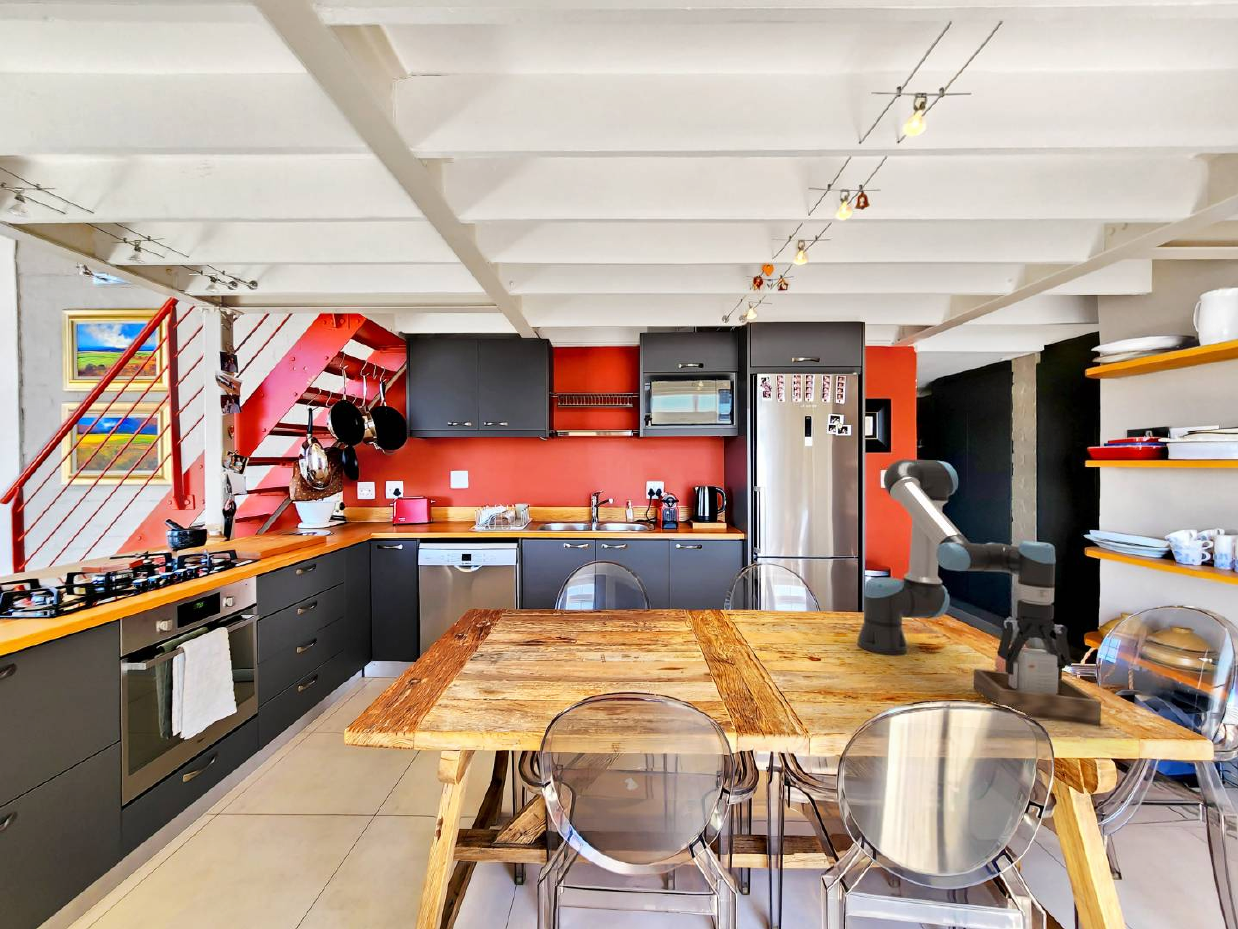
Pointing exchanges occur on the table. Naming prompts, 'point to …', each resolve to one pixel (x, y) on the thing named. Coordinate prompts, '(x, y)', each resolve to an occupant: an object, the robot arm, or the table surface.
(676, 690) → the table surface
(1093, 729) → the table surface
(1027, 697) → the crate
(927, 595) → the robot arm
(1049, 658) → the small box
